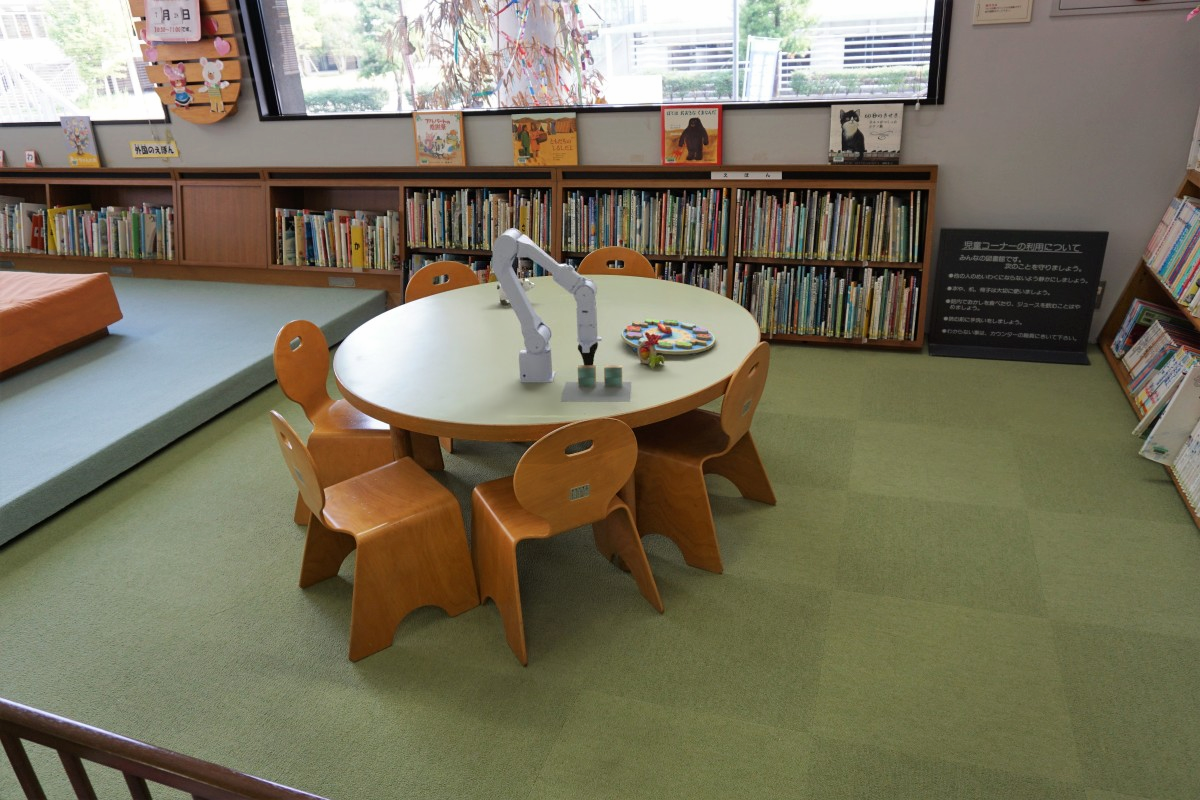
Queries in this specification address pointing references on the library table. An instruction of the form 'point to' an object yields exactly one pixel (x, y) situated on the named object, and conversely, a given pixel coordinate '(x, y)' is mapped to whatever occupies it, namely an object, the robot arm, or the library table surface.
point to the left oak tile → (586, 375)
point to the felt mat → (596, 392)
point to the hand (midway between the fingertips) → (588, 367)
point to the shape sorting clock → (669, 336)
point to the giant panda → (525, 285)
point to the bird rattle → (649, 350)
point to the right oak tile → (613, 375)
